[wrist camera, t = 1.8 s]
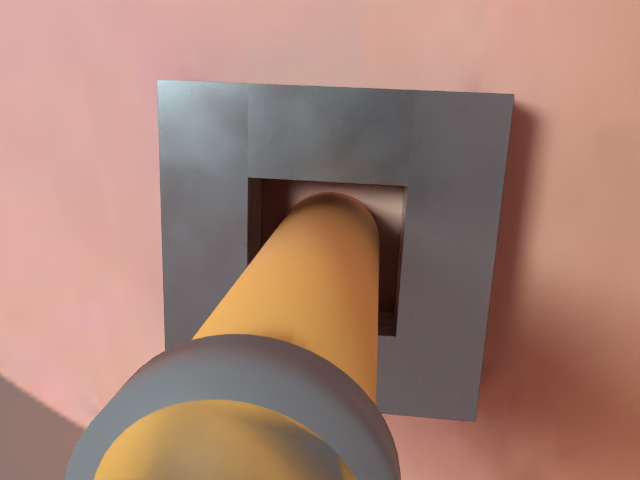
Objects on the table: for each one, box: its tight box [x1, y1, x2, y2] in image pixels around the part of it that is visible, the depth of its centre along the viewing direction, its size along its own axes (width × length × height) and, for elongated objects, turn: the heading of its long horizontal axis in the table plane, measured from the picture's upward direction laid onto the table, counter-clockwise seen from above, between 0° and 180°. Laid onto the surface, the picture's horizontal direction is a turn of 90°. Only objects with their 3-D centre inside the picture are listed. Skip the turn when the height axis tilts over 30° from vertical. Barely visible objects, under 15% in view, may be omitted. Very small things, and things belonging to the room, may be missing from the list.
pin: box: [65, 192, 401, 480], centre depth 16 cm, size 5×5×16 cm
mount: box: [157, 80, 514, 422], centre depth 22 cm, size 12×12×2 cm
